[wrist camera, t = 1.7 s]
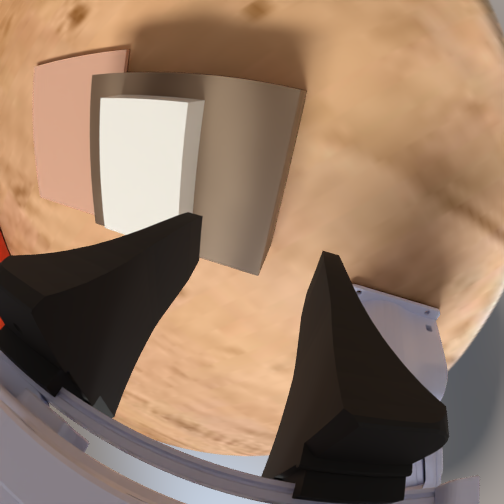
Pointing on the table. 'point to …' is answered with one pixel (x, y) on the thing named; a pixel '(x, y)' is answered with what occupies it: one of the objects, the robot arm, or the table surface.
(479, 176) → the table surface
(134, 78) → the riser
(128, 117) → the tile
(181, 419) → the table surface
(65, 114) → the mat
